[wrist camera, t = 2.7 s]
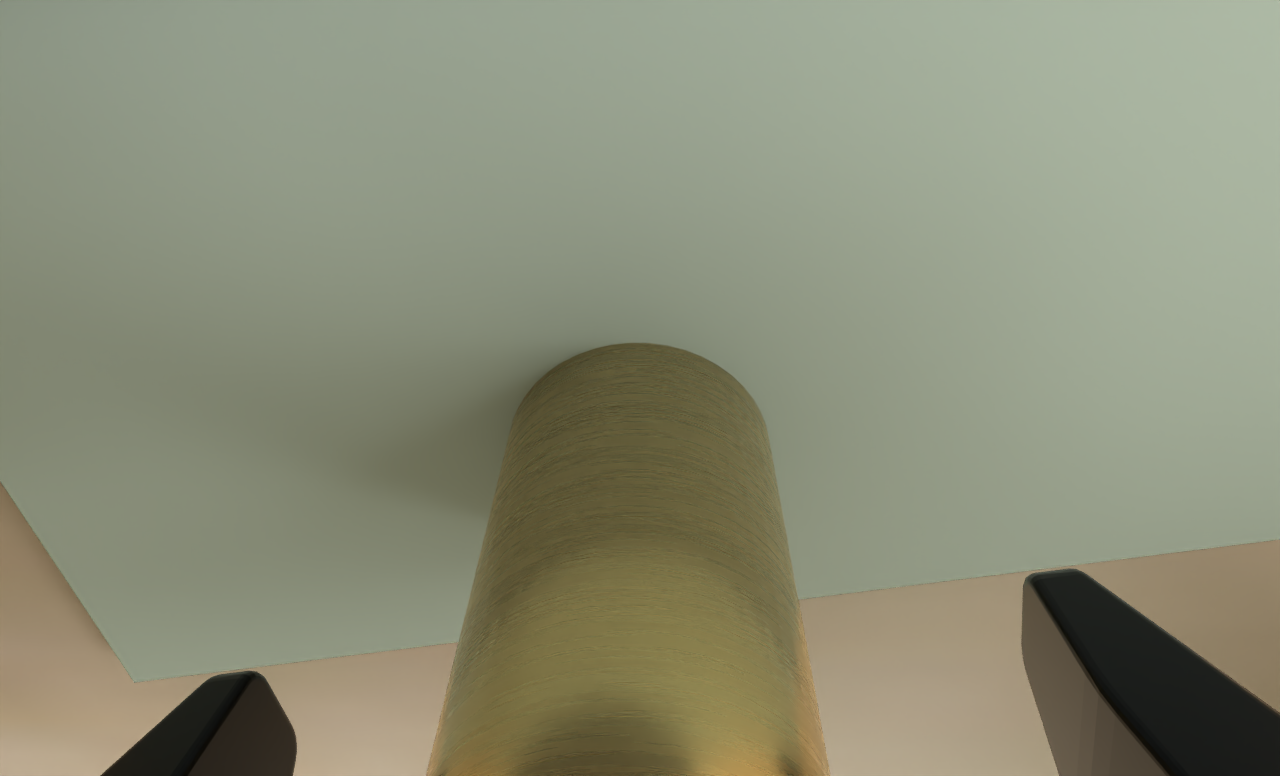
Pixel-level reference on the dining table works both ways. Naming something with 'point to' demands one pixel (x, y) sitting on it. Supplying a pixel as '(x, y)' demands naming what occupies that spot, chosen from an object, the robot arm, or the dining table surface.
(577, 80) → the mat
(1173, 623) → the dining table surface
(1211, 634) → the dining table surface
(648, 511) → the pin
